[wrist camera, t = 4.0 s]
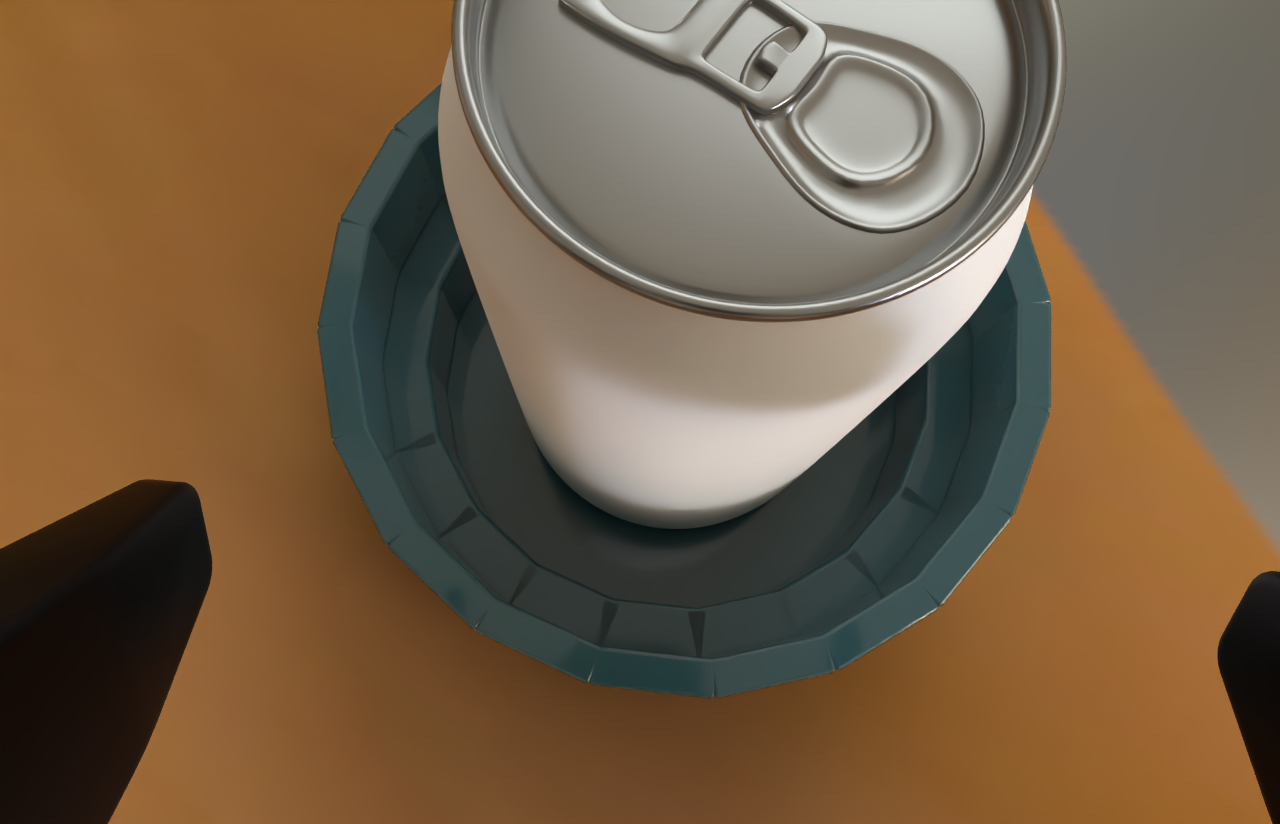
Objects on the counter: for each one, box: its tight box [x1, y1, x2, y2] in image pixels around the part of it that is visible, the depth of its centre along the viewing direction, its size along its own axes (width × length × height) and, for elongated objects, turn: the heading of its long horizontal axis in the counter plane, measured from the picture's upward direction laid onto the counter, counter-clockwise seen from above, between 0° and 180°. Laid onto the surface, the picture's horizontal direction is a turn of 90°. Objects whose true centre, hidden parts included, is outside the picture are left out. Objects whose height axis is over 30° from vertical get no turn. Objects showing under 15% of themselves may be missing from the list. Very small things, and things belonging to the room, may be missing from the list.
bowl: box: [317, 83, 1051, 699], centre depth 18 cm, size 12×12×5 cm
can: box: [438, 0, 1066, 529], centre depth 14 cm, size 6×6×12 cm
